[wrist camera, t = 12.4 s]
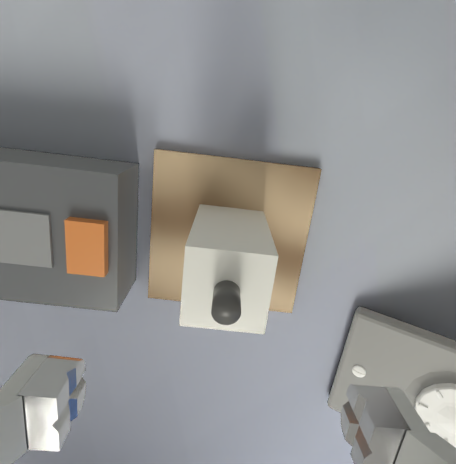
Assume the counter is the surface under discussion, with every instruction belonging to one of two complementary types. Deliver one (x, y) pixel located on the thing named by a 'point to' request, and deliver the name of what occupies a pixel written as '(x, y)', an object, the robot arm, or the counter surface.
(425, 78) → the counter surface
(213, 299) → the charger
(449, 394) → the light switch
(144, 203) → the counter surface
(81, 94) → the counter surface
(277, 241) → the cork pad
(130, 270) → the power strip
